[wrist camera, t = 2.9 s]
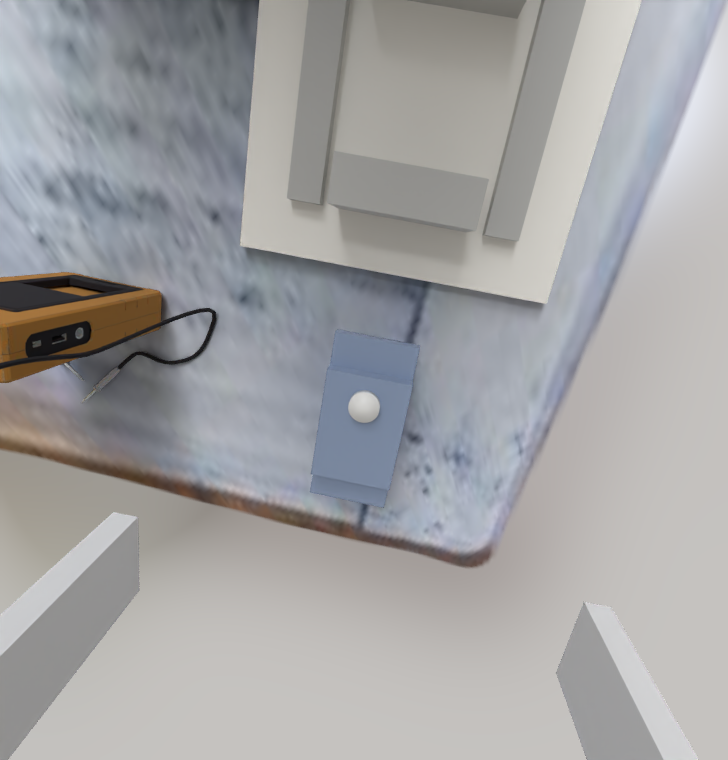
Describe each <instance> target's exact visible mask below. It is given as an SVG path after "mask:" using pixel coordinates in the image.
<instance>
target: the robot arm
mask: <svg viewBox="0 0 728 760" xmlns="http://www.w3.org/2000/svg"><path fill="white" fill-rule="evenodd" d="M138 540H139V537H138V517H137V516H131V515H126V514H120V513H116V512H113V513H112V514H111V515H110V516H109V517H107V518H106V519H105V520H104V521H103V522H102V523H101V524H100V525H99V526H97V528H95V529H94V530H93V531H92V532H91V533H90V534H89V535H88V536H87V537H86V538H84V539H83V540H82V541H81V542H80V543H79V544H78V545H77V546H75V547H74V548H73V549H72V550H71V551H70V552H69V553H68V554H67V555H66V556H64V557H63V558H62V559H61V560H60V561H59V562H58V563H57V564H56V565H55V566H53V567H52V568H51V569H50V570H49V571H48V572H47V573H46V574H45V575H44V576H42V577H41V578H40V579H39V580H38V581H37V582H36V583H35V584H34V585H33V586H31V587H30V588H29V589H28V590H27V591H26V592H25V593H24V594H23V595H21V596H20V597H19V598H18V599H17V600H16V601H15V602H14V603H13V604H12V605H11V606H9V607H8V608H7V609H6V610H5V611H4V612H3V613H2V614H1V615H0V760H8V759H9V758H10V756H11V755H12V754H13V753H14V751H15V750H16V749H17V747H18V746H19V745H20V744H21V742H22V741H23V740H24V738H25V737H26V736H27V734H28V733H29V732H30V730H31V729H32V728H33V727H34V726H35V724H36V723H37V722H38V720H39V719H40V718H41V716H42V715H43V714H44V712H45V711H46V710H47V709H48V707H49V706H50V705H51V704H52V702H53V701H54V700H55V698H56V697H57V696H58V695H59V693H60V692H61V691H62V689H63V688H64V687H65V686H66V684H67V683H68V682H69V680H70V679H71V678H72V676H73V675H74V674H75V673H76V671H77V670H78V669H79V667H80V666H81V665H82V664H83V662H84V661H85V660H86V658H87V657H88V656H89V654H90V653H91V652H92V651H93V649H94V648H95V647H96V645H97V644H98V643H99V642H100V640H101V639H102V637H103V636H104V635H105V634H106V633H107V631H108V630H109V629H110V627H111V626H112V625H113V624H114V622H115V621H116V620H117V618H118V617H119V616H120V615H121V613H122V612H123V611H124V609H125V608H126V607H127V605H128V604H129V603H130V602H131V600H132V599H133V597H134V596H135V595H136V594H137V592H138V591H139V541H138ZM556 674H557V677H558V679H559V682H560V685H561V688H562V691H563V694H564V697H565V699H566V702H567V705H568V708H569V710H570V713H571V716H572V719H573V722H574V725H575V728H576V730H577V733H578V736H579V739H580V742H581V744H582V747H583V750H584V753H585V756H586V759H587V760H699V759H698V758H697V756H696V754H695V752H694V751H693V749H692V747H691V745H690V744H689V742H688V740H687V738H686V737H685V735H684V733H683V731H682V730H681V728H680V726H679V725H678V723H677V721H676V719H675V717H674V716H673V714H672V712H671V710H670V709H669V707H668V706H667V704H666V702H665V700H664V698H663V696H662V695H661V693H660V691H659V689H658V688H657V686H656V684H655V682H654V681H653V679H652V677H651V675H650V674H649V672H648V671H647V668H646V667H645V665H644V663H643V661H642V660H641V658H640V656H639V655H638V653H637V651H636V649H635V647H634V646H633V644H632V642H631V641H630V639H629V637H628V635H627V633H626V632H625V630H624V628H623V627H622V625H621V623H620V621H619V620H618V618H617V616H616V614H615V613H614V611H613V609H612V607H609V606H603V605H598V604H592V603H587V602H584V603H583V606H582V608H581V611H580V614H579V616H578V619H577V621H576V624H575V626H574V629H573V631H572V634H571V636H570V639H569V641H568V644H567V646H566V649H565V652H564V654H563V657H562V659H561V661H560V664H559V666H558V669H557V672H556Z"/></svg>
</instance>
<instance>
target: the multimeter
mask: <svg viewBox="0 0 728 760" xmlns="http://www.w3.org/2000/svg"><path fill="white" fill-rule="evenodd" d="M161 299H162V295H161V293H160V291H157V290H153V289H146V288H141V287H136V286H131V285H127V284H122V283H117V282H112V281H107V280H103V279H98V278H93V277H88V276H84V275H81V274H75V273H69V272H61V273H50V274H37V275H25V276H14V277H0V383H9V382H12V381H15V380H18V379H21V378H24V377H26V376H29V375H32V374H35V373H38V372H41V371H44V370H46V369H49V368H52V367H55V366H58V365H63V364H64V365H65V366H67V367H68V368H69V369H70V370H71V371H72V372H73V373H74V374H75V375H76V376H77V377H78V378H79V379H81V380H83V378H82V377H81V376H80V375H79V374H78V373H77V372H76V371H75V370H74V369H73V368H71V367H70V366H69V365H68V364H67V363H66V362H69V361H72V360H75V359H78V358H82V357H87V356H90V355H93V354H97V353H99V352H102V351H104V350H107V349H109V348H112V347H114V346H117V345H119V344H121V343H123V342H126V341H128V340H131V339H134V338H136V337H139V336H142V335H145V334H147V333H150V332H153V331H156V330H159V329H160V327H161V326H163V325H165V324H168V323H170V322H172V321H175V320H178V319H181V318H183V317H186V316H189V315H193V314H196V313H200V312H210V313H212V322H211V325H210V329H209V331H208V334H207V336H206V339H205V341H204V343H203V344H202V346H201V347H200V349H199V350H198V351H197V352H196V353H195V354H194V355H192V356H190V357H188V358H185V359H181V360H177V361H165V360H162V359H159V358H156V357H154V356H152V355H150V354H148V353H145V352H135V353H133V354H132V355H130V356H129V357H128V358H127V359H126V360H124V361H123V362H122V363H121V364H120V365H119V366H118V367H116V368H114V369H113V370H112V371H111V372H110V373H108V374H107V375H106V376H105V377H104V378H103V379H102V380H101V381H100V382H99V383H98V384H97V385H94V386H93V388H94V390H93V391H92V392H91V393H90V394H89V395H88V396H87V397H86V398H85V399H83V401H82V403H83V402H85V401H86V400H87V399H88V398H89V397H91V396H92V395H93V394H94V393H95V392H96V391H97V392H100V391H101V390H102V388H103V387H104V386H105V385H106V384H107V383H109V382H110V381H111V380H112V379H113V378H114V377H115V376H116V375H117V374H118V373H119V372H120V370H121V368H122V367H123V366H124V365H125V364H126V363H127V362H129V361H130V360H131V359H132V358H133V357H135V356H136V355H143V356H146V357H148V358H150V359H152V360H155V361H157V362H160V363H163V364H178V363H182V362H186V361H189V360H191V359H193V358H195V357H196V356H198V355H199V354H200V353H201V352H202V351H203V349H204V348H205V346H206V345H207V343H208V341H209V339H210V336H211V334H212V331H213V328H214V325H215V322H216V312H215V311H214V310H212V309H210V308H202V309H197V310H193V311H189V312H186V313H183V314H180V315H178V316H175V317H172V318H169V319H167V320H165V321H162V322H161ZM83 381H84V380H83Z"/></svg>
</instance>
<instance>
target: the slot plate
mask: <svg viewBox="0 0 728 760" xmlns="http://www.w3.org/2000/svg"><path fill="white" fill-rule="evenodd" d="M641 2H642V0H259V12H258V25H257V37H256V50H255V62H254V75H253V87H252V100H251V112H250V125H249V137H248V150H247V162H246V175H245V188H244V200H243V213H242V225H241V238H240V246H244V247H249V248H254V249H260V250H265V251H270V252H275V253H281V254H286V255H291V256H296V257H302V258H307V259H312V260H318V261H323V262H328V263H333V264H339V265H344V266H349V267H354V268H360V269H365V270H370V271H375V272H381V273H386V274H391V275H396V276H402V277H407V278H412V279H418V280H423V281H428V282H433V283H439V284H444V285H449V286H454V287H460V288H465V289H470V290H475V291H481V292H486V293H491V294H496V295H502V296H507V297H512V298H517V299H523V300H528V301H533V302H539V303H544V304H547V301H548V298H549V295H550V292H551V288H552V285H553V282H554V279H555V276H556V272H557V269H558V266H559V263H560V260H561V256H562V253H563V250H564V247H565V244H566V241H567V237H568V234H569V231H570V228H571V225H572V221H573V218H574V215H575V212H576V209H577V206H578V202H579V199H580V196H581V193H582V190H583V186H584V183H585V180H586V177H587V174H588V170H589V167H590V164H591V161H592V158H593V155H594V151H595V148H596V145H597V142H598V139H599V135H600V132H601V129H602V126H603V123H604V120H605V116H606V113H607V110H608V107H609V104H610V100H611V97H612V94H613V91H614V88H615V84H616V81H617V78H618V75H619V72H620V69H621V65H622V62H623V59H624V56H625V53H626V49H627V46H628V43H629V40H630V37H631V33H632V30H633V27H634V24H635V21H636V18H637V14H638V11H639V8H640V5H641Z"/></svg>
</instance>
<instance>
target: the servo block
mask: <svg viewBox="0 0 728 760" xmlns="http://www.w3.org/2000/svg"><path fill="white" fill-rule="evenodd" d="M419 350H420V346H419V345H415V344H410V343H405V342H400V341H395V340H390V339H385V338H379V337H374V336H369V335H364V334H359V333H354V332H349V331H344V330H338V329H337V330H336V332H335V337H334V343H333V350H332V356H331V362H330V365H329V367H328V369H327V374H326V380H325V387H324V393H323V400H322V406H321V412H320V419H319V425H318V431H317V438H316V444H315V451H314V457H313V463H312V470H311V474H313V476H312V482H311V489H310V492H311V493H315V494H320V495H325V496H330V497H335V498H339V499H344V500H349V501H354V502H359V503H363V504H368V505H373V506H378V507H383V508H384V505H385V501H386V496H387V492H388V490H389V489H390V485H391V480H392V476H393V471H394V467H395V463H396V458H397V454H398V449H399V445H400V441H401V436H402V432H403V427H404V423H405V419H406V414H407V410H408V405H409V401H410V397H411V392H412V388H413V377H414V372H415V368H416V363H417V359H418V355H419Z"/></svg>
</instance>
